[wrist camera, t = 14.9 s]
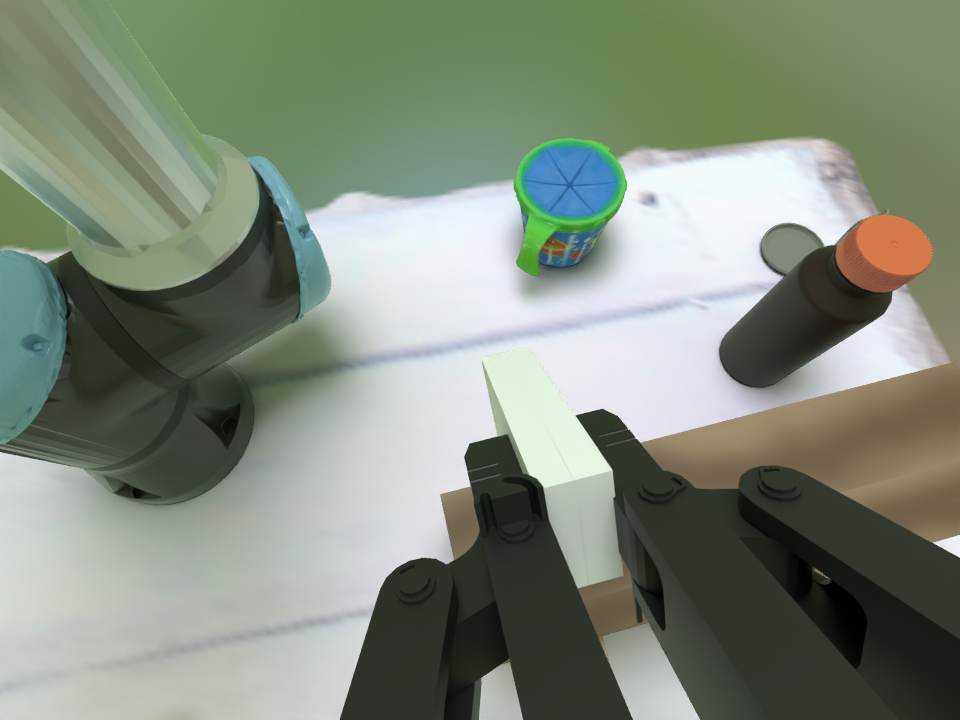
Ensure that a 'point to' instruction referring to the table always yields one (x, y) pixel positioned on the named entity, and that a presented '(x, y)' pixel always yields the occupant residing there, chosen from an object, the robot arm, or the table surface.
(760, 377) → the bottle
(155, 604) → the table surface
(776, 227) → the pocket watch
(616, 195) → the snack cup
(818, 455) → the console
